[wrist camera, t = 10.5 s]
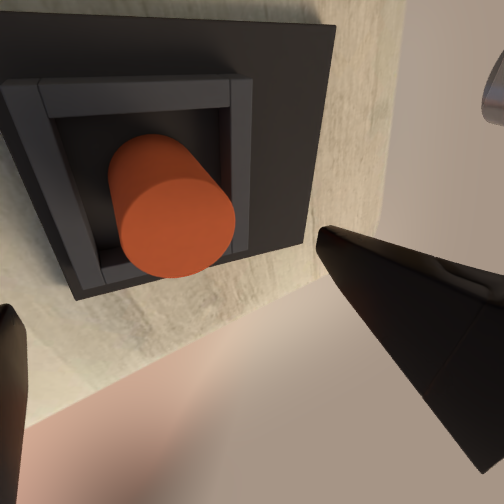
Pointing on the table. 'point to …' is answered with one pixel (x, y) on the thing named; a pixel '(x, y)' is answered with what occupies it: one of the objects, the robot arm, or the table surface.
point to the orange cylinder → (168, 208)
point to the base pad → (161, 123)
